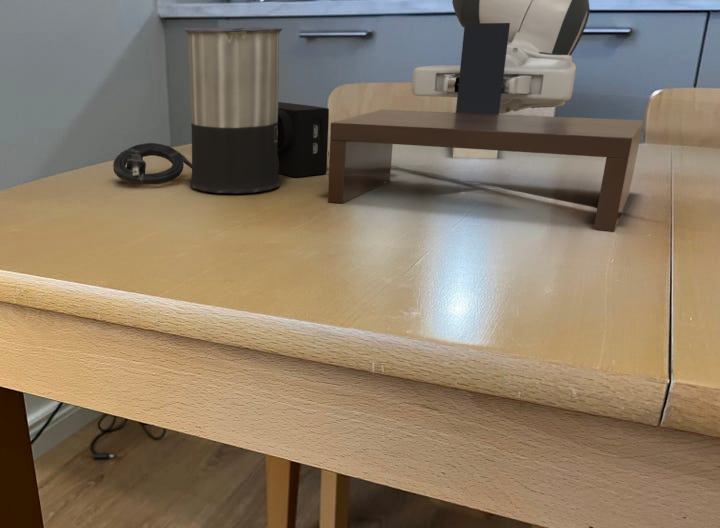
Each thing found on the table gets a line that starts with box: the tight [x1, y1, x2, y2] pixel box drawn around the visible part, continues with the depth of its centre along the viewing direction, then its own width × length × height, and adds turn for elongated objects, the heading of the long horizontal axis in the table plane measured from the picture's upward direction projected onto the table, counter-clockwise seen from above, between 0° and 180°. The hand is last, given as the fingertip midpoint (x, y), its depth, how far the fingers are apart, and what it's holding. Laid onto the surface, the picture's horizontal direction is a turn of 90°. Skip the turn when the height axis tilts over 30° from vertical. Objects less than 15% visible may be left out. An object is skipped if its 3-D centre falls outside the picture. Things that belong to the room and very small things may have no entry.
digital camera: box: [277, 101, 330, 178], centre depth 84 cm, size 10×5×7 cm, turn 31°
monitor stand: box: [327, 109, 644, 232], centre depth 67 cm, size 13×24×7 cm, turn 61°
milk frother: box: [112, 26, 283, 195], centre depth 74 cm, size 14×16×15 cm
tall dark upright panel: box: [452, 23, 510, 159], centre depth 90 cm, size 11×5×15 cm, turn 166°
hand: (478, 85), depth 92 cm, fingers closed on tall dark upright panel, 5 cm apart
